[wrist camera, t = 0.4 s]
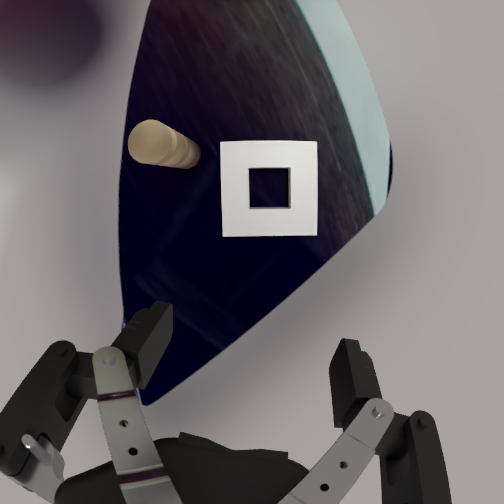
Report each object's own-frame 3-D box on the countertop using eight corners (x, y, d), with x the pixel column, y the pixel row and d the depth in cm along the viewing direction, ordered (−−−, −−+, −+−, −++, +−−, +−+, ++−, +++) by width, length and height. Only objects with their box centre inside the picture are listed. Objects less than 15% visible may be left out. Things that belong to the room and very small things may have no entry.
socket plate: (222, 144, 35) (220, 142, 32) (312, 144, 35) (316, 141, 32) (225, 232, 38) (223, 236, 35) (313, 231, 38) (316, 235, 35)
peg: (172, 141, 35) (128, 123, 21) (200, 138, 35) (169, 117, 21) (172, 169, 36) (128, 165, 22) (200, 167, 36) (169, 161, 22)
